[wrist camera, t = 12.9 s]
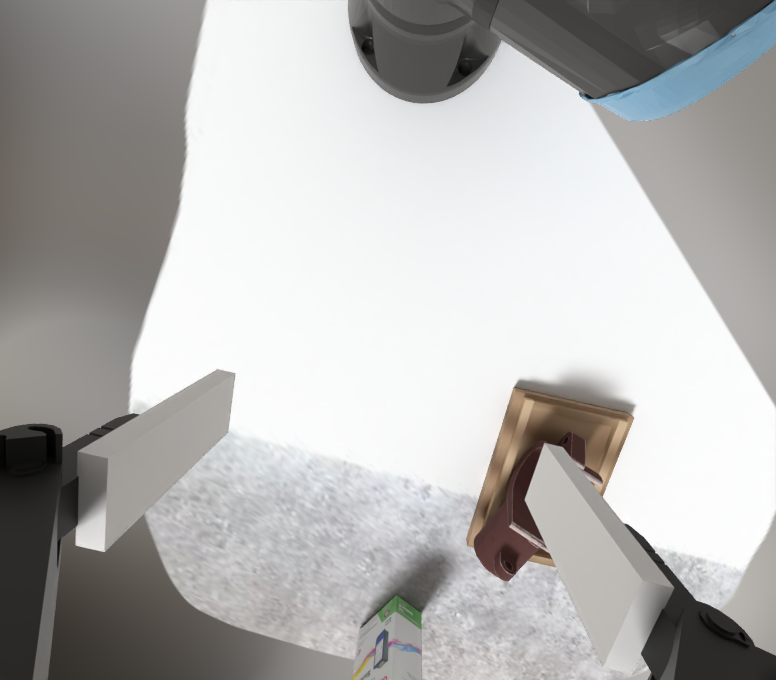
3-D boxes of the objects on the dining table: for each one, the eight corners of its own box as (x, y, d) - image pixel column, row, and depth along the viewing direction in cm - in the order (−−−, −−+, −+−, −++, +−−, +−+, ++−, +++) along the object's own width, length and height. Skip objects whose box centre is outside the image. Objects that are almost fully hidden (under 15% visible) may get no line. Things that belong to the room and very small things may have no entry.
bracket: (602, 446, 42) (626, 506, 33) (516, 538, 48) (517, 609, 39) (552, 417, 43) (562, 466, 33) (475, 511, 49) (466, 574, 40)
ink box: (384, 646, 54) (377, 751, 43) (357, 627, 54) (343, 728, 42) (423, 612, 52) (426, 712, 41) (395, 591, 52) (391, 687, 40)
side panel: (513, 387, 44) (518, 393, 42) (628, 413, 44) (638, 420, 42) (466, 539, 49) (468, 550, 47) (569, 562, 49) (575, 575, 47)
